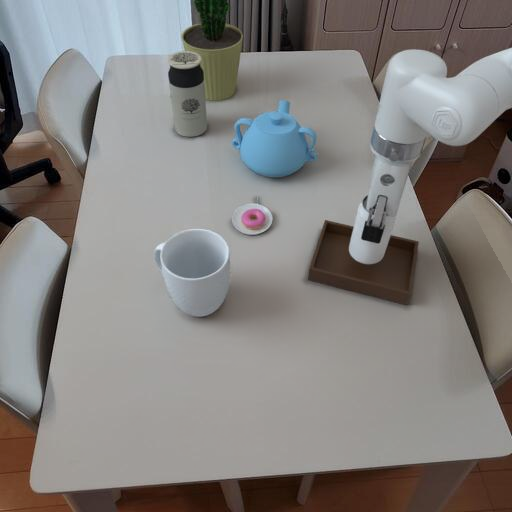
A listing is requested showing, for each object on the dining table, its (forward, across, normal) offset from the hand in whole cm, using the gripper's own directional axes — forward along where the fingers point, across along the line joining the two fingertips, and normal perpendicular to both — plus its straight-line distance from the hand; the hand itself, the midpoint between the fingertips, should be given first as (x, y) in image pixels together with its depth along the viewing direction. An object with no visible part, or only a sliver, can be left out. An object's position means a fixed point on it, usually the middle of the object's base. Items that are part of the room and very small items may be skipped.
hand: (373, 225), depth 85 cm
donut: (+11, +6, +24) cm, 27 cm away
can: (+7, 0, 0) cm, 7 cm away
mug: (+11, -17, +27) cm, 34 cm away
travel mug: (+11, +31, +48) cm, 58 cm away
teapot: (+11, +27, +25) cm, 38 cm away
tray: (+11, 0, 0) cm, 11 cm away
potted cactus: (+11, +50, +49) cm, 71 cm away
